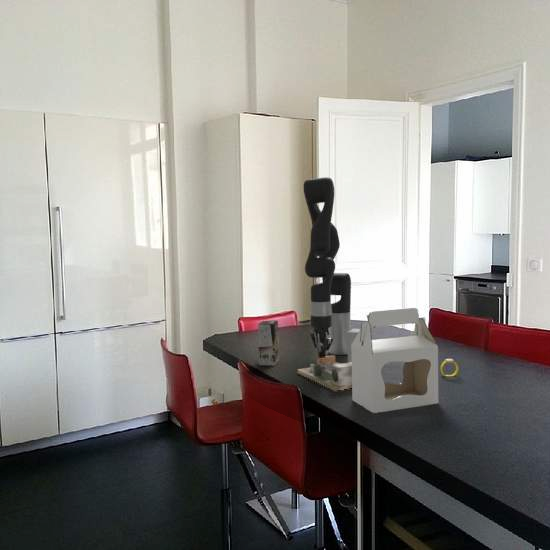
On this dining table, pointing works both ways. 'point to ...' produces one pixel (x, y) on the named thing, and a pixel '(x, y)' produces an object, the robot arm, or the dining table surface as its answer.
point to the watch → (449, 362)
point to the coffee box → (268, 343)
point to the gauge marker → (317, 370)
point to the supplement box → (351, 341)
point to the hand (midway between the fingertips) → (321, 361)
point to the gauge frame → (331, 376)
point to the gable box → (376, 353)
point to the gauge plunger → (326, 362)
